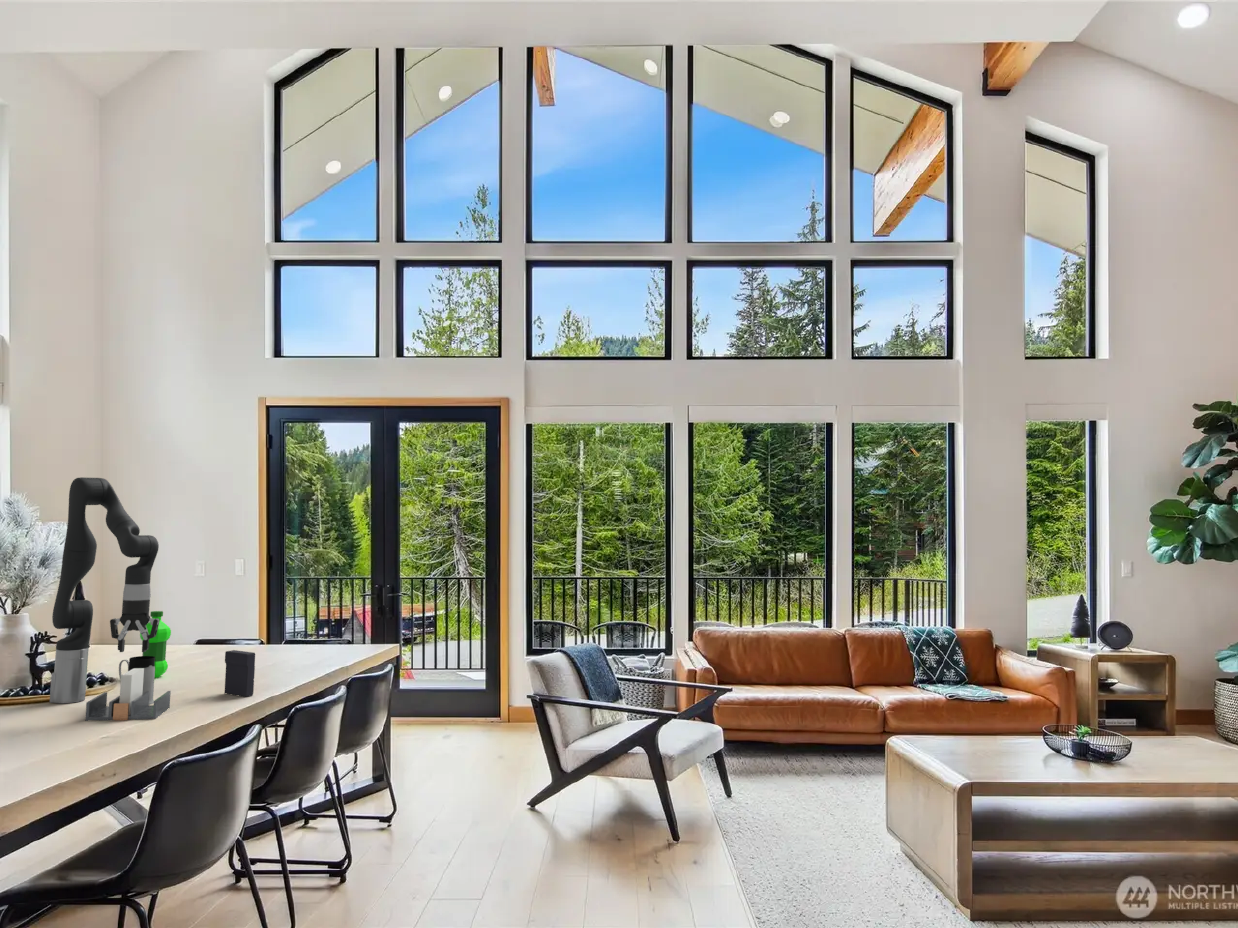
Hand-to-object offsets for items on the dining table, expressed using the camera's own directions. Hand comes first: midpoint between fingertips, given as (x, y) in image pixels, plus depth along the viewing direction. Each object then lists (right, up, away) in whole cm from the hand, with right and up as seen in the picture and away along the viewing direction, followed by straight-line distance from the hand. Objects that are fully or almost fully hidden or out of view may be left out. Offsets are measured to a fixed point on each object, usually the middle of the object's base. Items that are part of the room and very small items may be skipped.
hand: (133, 651), depth 263 cm
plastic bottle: (-26, -23, +58) cm, 67 cm away
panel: (-1, -19, 0) cm, 19 cm away
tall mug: (-9, -21, +15) cm, 27 cm away
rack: (-1, -19, -1) cm, 20 cm away
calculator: (+19, -22, +31) cm, 43 cm away
